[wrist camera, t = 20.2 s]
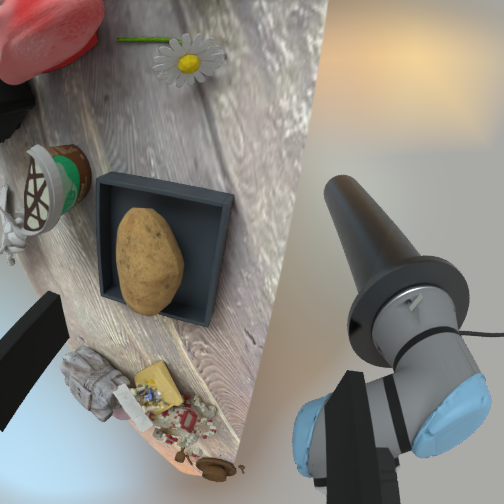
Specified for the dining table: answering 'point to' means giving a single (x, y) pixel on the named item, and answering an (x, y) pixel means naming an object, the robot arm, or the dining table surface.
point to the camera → (13, 106)
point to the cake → (149, 394)
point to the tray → (183, 227)
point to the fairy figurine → (11, 229)
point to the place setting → (211, 467)
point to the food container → (53, 185)
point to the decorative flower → (185, 59)
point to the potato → (147, 261)
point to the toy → (45, 35)
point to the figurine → (93, 381)
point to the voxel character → (183, 424)
